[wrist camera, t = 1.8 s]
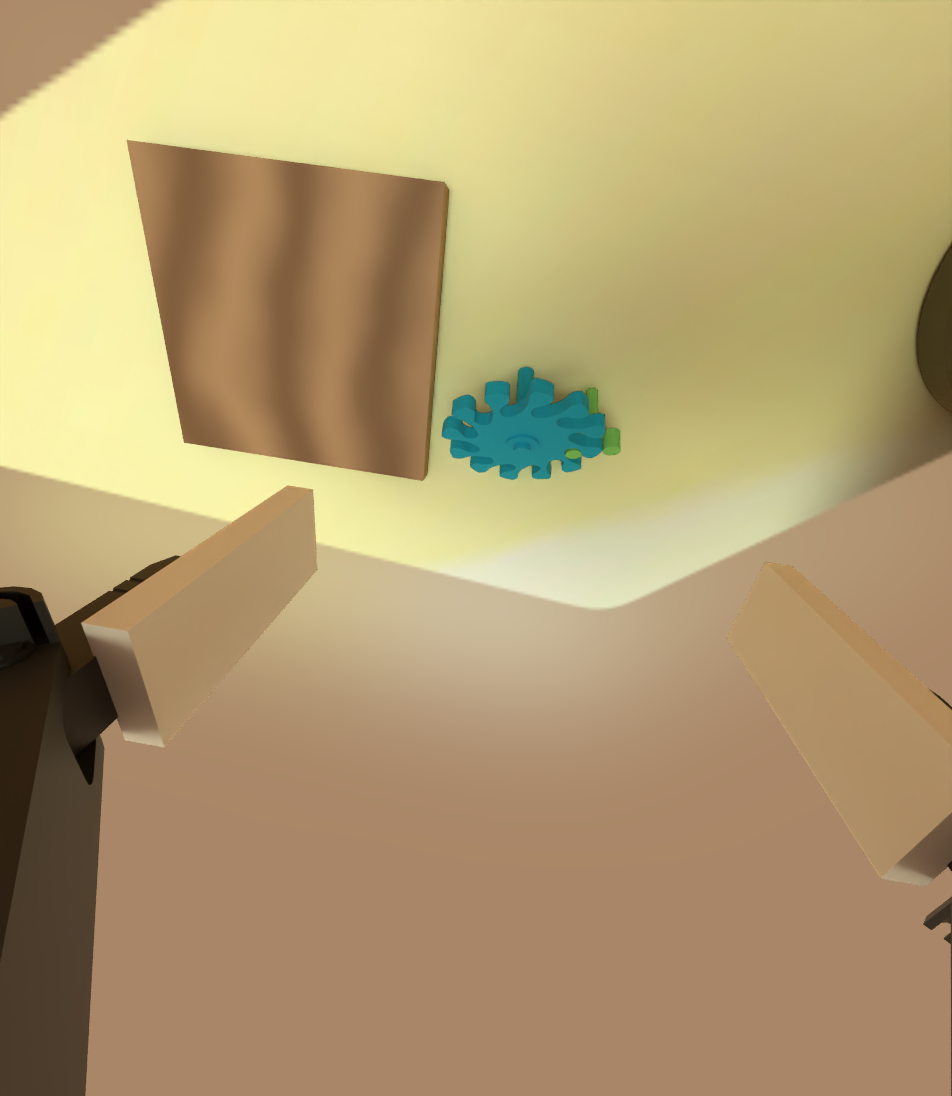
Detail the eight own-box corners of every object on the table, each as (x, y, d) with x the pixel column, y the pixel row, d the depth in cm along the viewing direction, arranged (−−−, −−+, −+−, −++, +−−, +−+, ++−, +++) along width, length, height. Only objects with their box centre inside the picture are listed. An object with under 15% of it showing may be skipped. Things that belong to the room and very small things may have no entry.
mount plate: (449, 190, 25) (444, 182, 23) (427, 474, 33) (422, 480, 31) (147, 149, 25) (126, 140, 24) (197, 437, 33) (183, 442, 32)
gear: (437, 477, 31) (445, 388, 21) (446, 407, 33) (456, 295, 23) (587, 496, 32) (657, 419, 22) (587, 426, 34) (652, 328, 24)
